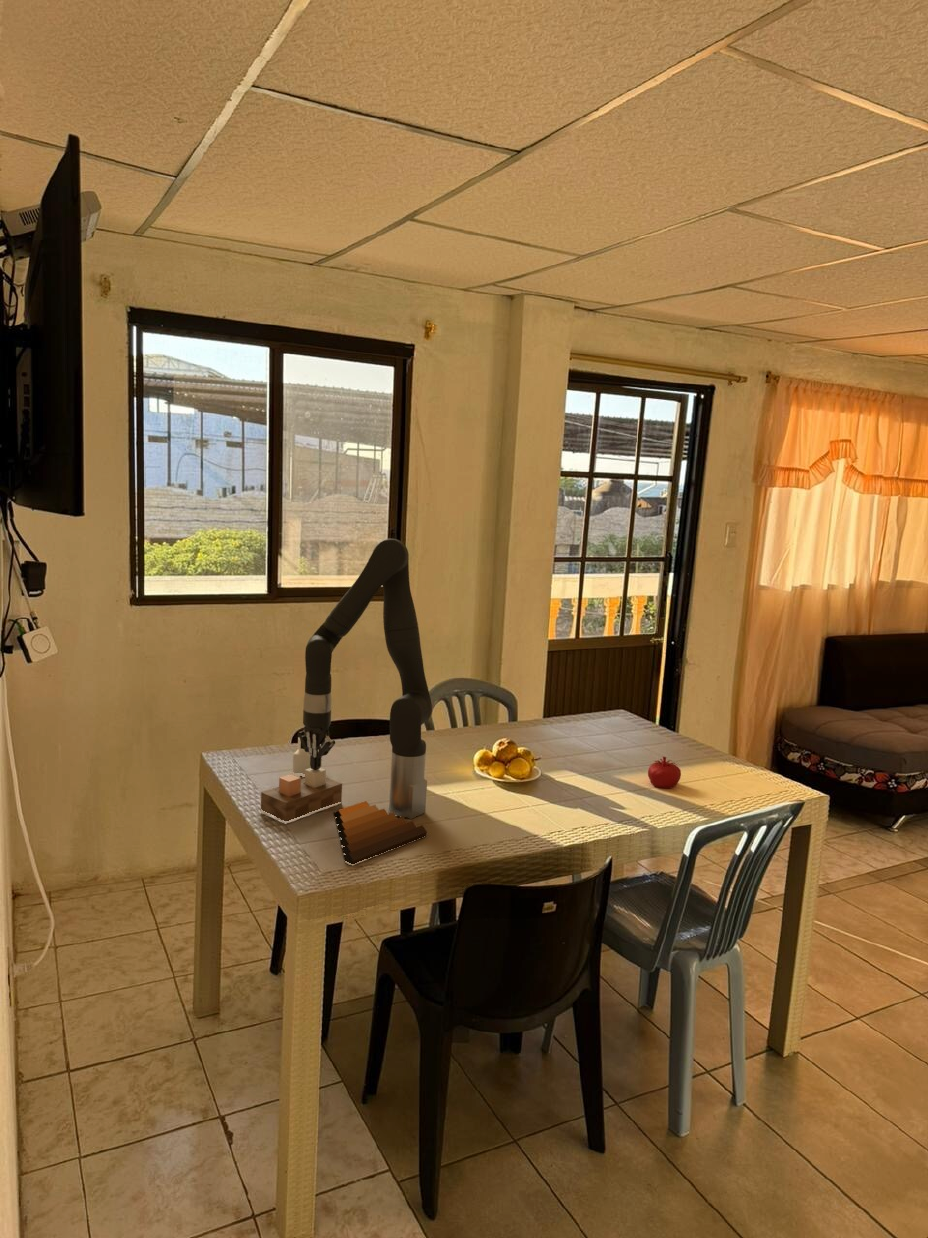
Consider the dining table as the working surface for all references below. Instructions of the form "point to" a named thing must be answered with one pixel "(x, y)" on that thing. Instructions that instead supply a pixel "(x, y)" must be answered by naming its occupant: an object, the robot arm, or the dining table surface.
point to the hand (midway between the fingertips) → (315, 768)
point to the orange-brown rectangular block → (289, 785)
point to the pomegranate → (664, 774)
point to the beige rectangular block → (315, 777)
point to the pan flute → (372, 831)
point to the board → (301, 800)
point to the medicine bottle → (301, 759)
